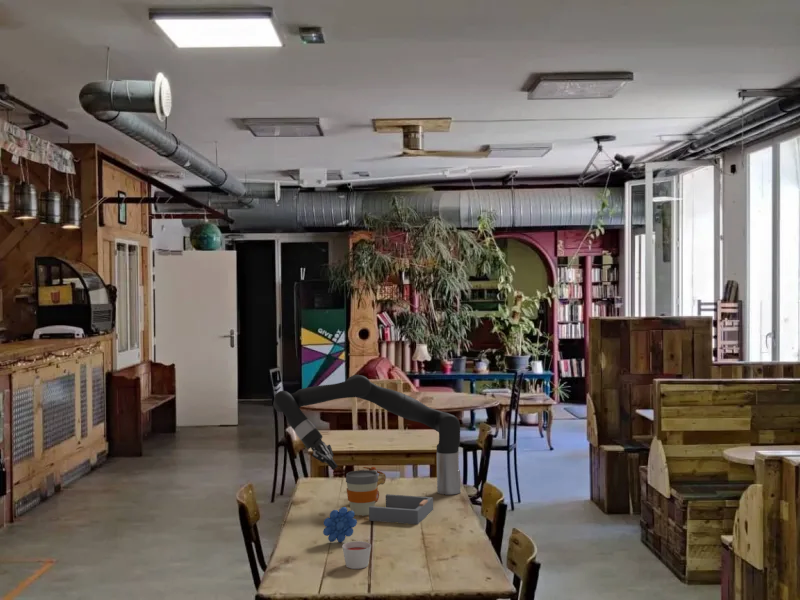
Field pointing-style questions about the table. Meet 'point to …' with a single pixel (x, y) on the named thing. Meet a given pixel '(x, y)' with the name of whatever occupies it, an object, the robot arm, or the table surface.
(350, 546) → the candle
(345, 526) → the grapes
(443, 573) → the table surface
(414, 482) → the table surface
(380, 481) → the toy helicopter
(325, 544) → the table surface
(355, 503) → the reusable coffee cup
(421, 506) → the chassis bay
